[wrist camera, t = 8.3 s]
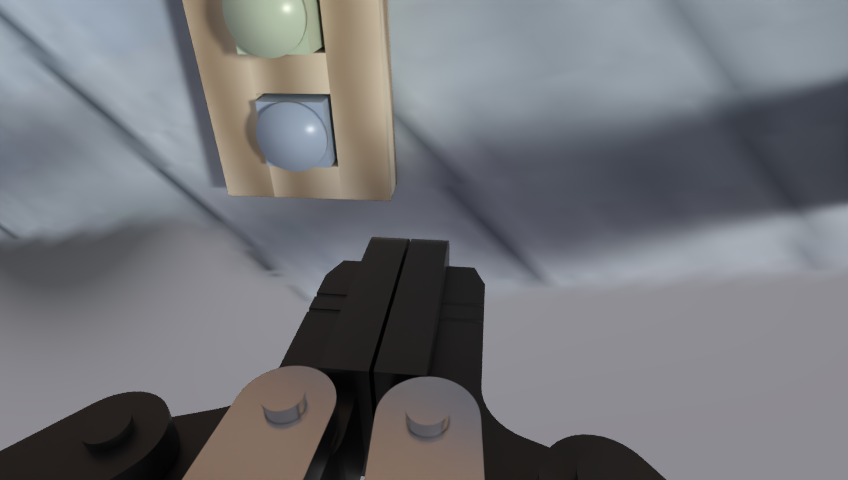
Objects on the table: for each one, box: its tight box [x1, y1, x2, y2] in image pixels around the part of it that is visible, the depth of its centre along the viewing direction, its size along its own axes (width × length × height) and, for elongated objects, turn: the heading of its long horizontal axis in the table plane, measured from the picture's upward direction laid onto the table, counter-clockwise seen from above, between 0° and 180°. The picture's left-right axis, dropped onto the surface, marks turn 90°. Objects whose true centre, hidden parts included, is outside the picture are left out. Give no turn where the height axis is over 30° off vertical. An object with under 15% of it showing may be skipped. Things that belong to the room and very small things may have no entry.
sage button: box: [222, 0, 323, 58], centre depth 29 cm, size 5×5×3 cm
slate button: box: [255, 93, 337, 172], centre depth 34 cm, size 5×5×3 cm
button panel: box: [182, 0, 397, 201], centre depth 31 cm, size 12×25×3 cm, turn 1°
